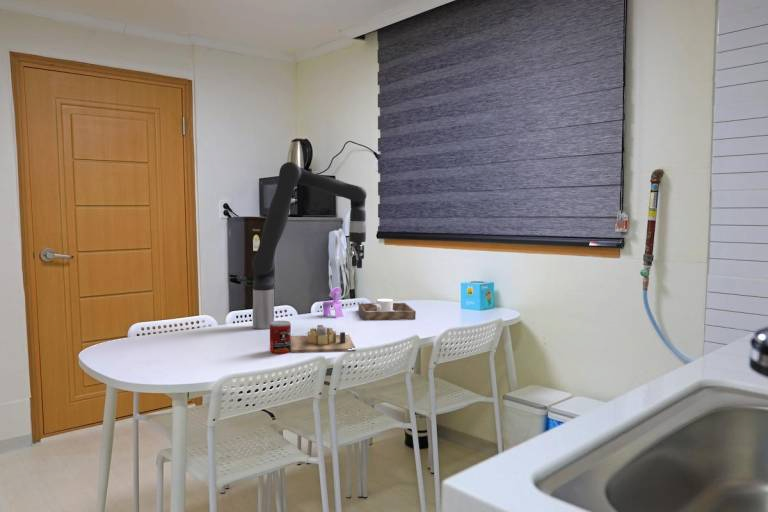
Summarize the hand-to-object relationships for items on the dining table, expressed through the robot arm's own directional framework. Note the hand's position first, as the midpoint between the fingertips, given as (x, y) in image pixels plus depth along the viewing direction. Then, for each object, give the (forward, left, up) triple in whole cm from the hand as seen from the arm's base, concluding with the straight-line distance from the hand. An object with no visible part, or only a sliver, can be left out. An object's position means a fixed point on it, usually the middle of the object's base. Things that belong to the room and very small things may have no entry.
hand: (356, 267), depth 262 cm
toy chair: (-8, +27, -28) cm, 39 cm away
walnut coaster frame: (+19, +28, -27) cm, 43 cm away
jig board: (-17, -33, -27) cm, 46 cm away
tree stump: (+18, +28, -28) cm, 43 cm away
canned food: (-33, -43, -28) cm, 61 cm away
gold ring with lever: (-17, -30, -26) cm, 43 cm away
